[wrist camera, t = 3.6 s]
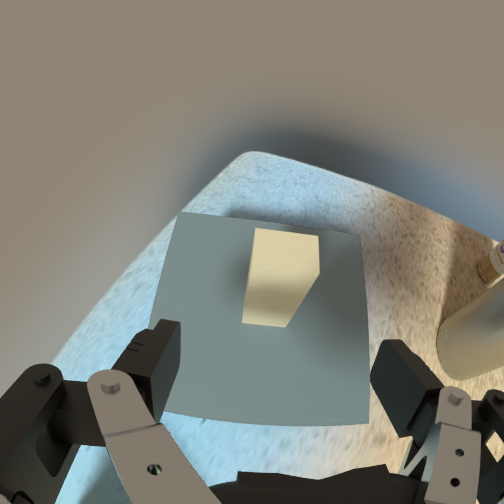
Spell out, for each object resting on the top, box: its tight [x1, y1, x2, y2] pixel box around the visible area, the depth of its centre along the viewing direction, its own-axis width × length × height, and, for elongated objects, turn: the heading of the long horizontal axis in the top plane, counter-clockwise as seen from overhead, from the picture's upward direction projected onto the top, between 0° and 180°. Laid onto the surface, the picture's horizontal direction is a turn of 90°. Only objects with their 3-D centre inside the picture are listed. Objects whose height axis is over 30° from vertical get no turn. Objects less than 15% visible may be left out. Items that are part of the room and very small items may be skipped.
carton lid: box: [148, 212, 370, 426], centre depth 20 cm, size 16×16×16 cm
